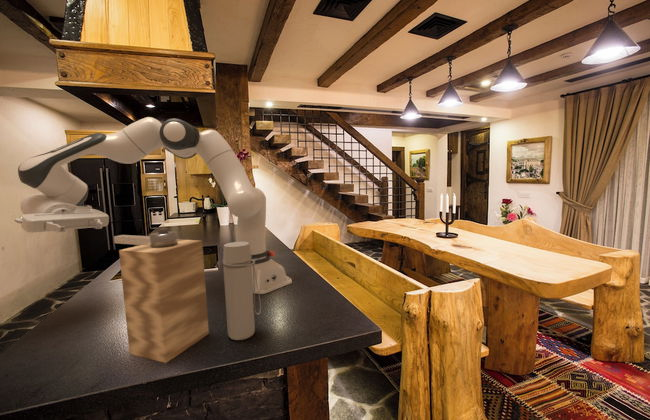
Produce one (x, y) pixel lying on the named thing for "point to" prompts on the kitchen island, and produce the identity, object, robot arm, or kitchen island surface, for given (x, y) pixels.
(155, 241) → the ratchet wrench
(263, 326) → the kitchen island surface
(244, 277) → the water bottle
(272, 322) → the kitchen island surface
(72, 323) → the kitchen island surface
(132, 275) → the wooden block
